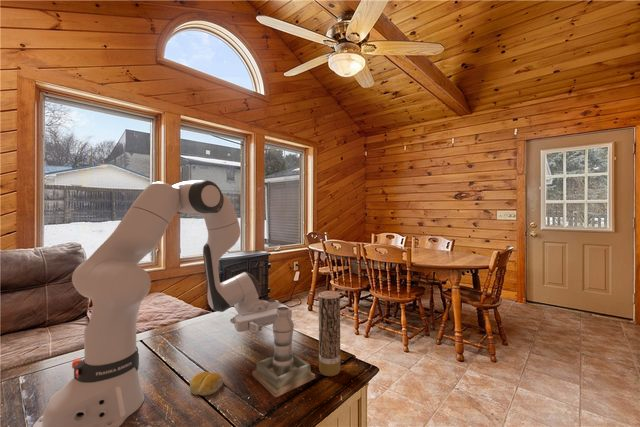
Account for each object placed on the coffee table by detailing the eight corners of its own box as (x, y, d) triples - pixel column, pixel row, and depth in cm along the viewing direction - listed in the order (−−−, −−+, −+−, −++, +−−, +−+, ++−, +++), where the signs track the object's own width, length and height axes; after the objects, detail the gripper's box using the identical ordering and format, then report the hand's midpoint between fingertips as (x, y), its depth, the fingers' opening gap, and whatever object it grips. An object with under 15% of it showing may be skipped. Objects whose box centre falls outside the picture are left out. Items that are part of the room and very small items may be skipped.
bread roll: (201, 377, 90) (201, 365, 90) (227, 382, 87) (226, 369, 87) (182, 394, 82) (182, 380, 82) (209, 399, 80) (209, 385, 79)
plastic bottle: (270, 369, 92) (270, 306, 91) (291, 365, 94) (291, 304, 94) (274, 380, 86) (273, 313, 85) (296, 376, 88) (296, 310, 88)
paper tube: (340, 366, 96) (340, 291, 95) (340, 378, 89) (339, 297, 89) (320, 365, 96) (319, 290, 96) (318, 377, 90) (317, 296, 89)
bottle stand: (275, 397, 80) (275, 382, 80) (252, 375, 91) (252, 362, 91) (315, 378, 89) (315, 364, 89) (289, 360, 100) (289, 348, 100)
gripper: (228, 310, 101) (242, 322, 89) (281, 299, 112) (299, 309, 101) (228, 328, 101) (242, 343, 90) (281, 315, 113) (299, 327, 101)
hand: (272, 325), depth 95 cm, fingers open, 8 cm apart
